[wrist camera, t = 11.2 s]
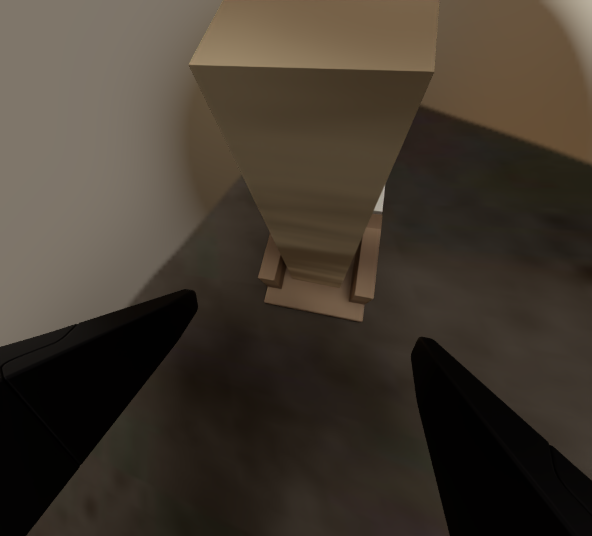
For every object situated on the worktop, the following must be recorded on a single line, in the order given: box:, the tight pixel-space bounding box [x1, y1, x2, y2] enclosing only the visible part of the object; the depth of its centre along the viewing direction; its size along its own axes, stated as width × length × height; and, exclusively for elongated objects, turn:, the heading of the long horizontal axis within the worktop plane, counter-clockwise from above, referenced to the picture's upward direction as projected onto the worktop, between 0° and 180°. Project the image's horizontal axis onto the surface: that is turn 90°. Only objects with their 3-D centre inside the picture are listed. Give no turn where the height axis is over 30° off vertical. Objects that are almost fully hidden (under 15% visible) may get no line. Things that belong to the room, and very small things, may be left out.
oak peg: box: [189, 0, 439, 288], centre depth 11 cm, size 4×4×15 cm
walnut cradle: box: [258, 214, 382, 322], centre depth 17 cm, size 8×8×4 cm
